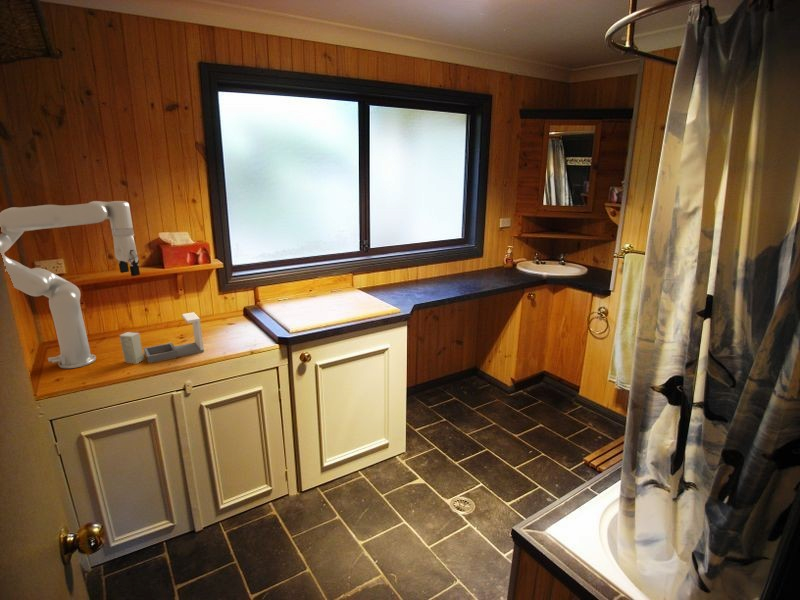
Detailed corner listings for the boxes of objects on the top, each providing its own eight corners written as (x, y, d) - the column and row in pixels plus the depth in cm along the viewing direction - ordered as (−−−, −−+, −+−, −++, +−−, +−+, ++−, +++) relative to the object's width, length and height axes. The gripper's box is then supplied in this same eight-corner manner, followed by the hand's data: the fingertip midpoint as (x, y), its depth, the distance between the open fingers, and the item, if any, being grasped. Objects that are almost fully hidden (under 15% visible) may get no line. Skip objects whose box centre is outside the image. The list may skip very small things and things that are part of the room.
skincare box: (144, 360, 188) (140, 332, 185) (136, 364, 184) (131, 336, 181) (132, 358, 190) (127, 331, 186) (123, 362, 186) (118, 335, 182)
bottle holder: (148, 363, 185) (142, 328, 181) (144, 354, 194) (139, 321, 190) (204, 351, 197) (199, 318, 193) (198, 343, 206) (194, 312, 202)
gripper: (103, 231, 185) (111, 272, 190) (122, 235, 175) (130, 278, 180) (123, 229, 191) (130, 269, 195) (142, 233, 181) (149, 275, 185)
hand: (130, 273), depth 188 cm, fingers open, 9 cm apart
